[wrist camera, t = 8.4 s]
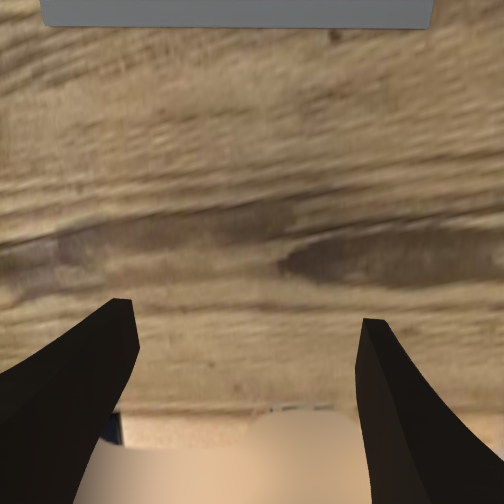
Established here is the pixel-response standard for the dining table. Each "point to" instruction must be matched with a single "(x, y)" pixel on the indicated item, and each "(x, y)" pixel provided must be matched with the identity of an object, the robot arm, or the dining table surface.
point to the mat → (240, 13)
